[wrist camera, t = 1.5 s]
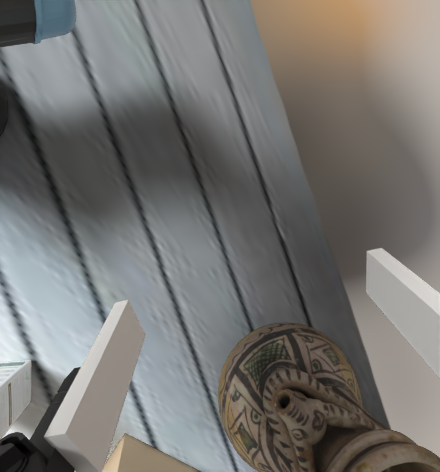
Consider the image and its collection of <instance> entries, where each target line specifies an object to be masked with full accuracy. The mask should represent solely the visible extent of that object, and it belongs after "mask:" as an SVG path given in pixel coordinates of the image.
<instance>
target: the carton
mask: <svg viewBox="0 0 440 472" xmlns="http://www.w3.org/2000/svg"><path fill="white" fill-rule="evenodd" d="M102 472H200V471H199V470H197V469H195V468H193V467H191V466H189V465H187V464H185V463H183V462H181V461H179V460H177V459H175V458H173V457H171V456H169V455H167V454H165V453H163V452H161V451H159V450H157V449H155V448H153V447H151V446H149V445H147V444H145V443H143V442H141V441H139V440H137V439H135V438H133V437H131V436H129V435H128V434H126V433H125V434H124V436H123V437H122V439H121V440H120V442H119V443H118V445H117V447H116V448H115V450H114V451H113V453H112V454H111V456H110V457H109V459H108V460H107V462H106V463H105V465H104V468H103V471H102Z"/></svg>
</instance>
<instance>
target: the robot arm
mask: <svg viewBox="0 0 440 472" xmlns="http://www.w3.org/2000/svg"><path fill="white" fill-rule="evenodd" d="M75 22H76V7H75V1H74V0H0V47H6V46H13V45H20V44H26V43H33V44H37V43H40V42H41V40H43V39H48V38H52V37H57V36H61V35H66V34H68V33H69V32H70V31H71V30H72V28H73V27H74V25H75ZM7 116H8V105H7V99H6V95H5V92H4V90H3V88H2V86H1V84H0V135H1V134H2V132H3V130H4V128H5V125H6V121H7ZM366 264H367V265H366V293H367V294H368V296H369V297H370V298H371V299H372V300H373V301H374V303H375V304H376V305H377V306H378V307H379V308H380V310H381V311H382V312H383V313H384V314H385V315H386V317H387V318H388V319H389V320H390V321H391V322H392V323H393V325H394V326H395V327H396V328H397V329H398V331H399V332H400V333H401V334H402V335H403V336H404V337H405V339H406V340H407V341H408V342H409V343H410V344H411V346H412V347H413V348H414V349H415V350H416V351H417V352H418V354H419V355H420V356H421V357H422V358H423V360H424V361H425V362H426V363H427V364H428V365H429V366H430V368H431V369H432V370H433V371H434V372H435V373H436V375H437V376H438V377H439V378H440V294H439V292H437V291H436V290H435V289H433V288H432V287H431V286H430V285H428V284H427V283H426V282H425V281H423V280H422V279H421V278H419V277H418V276H417V275H416V274H414V273H413V272H412V271H410V270H409V269H408V268H407V267H405V266H404V265H403V264H402V263H400V262H399V261H398V260H396V259H395V258H394V257H393V256H391V255H390V254H389V253H388V252H386V251H385V250H384V249H382V248H379V249H374V250H370V251H367V263H366ZM144 338H145V333H144V331H143V329H142V327H141V325H140V323H139V320H138V318H137V316H136V314H135V312H134V310H133V308H132V306H131V304H130V302H129V300H125V301H120V302H116V303H115V304H114V306H113V308H112V310H111V312H110V314H109V316H108V317H107V319H106V321H105V323H104V325H103V327H102V329H101V331H100V332H99V334H98V336H97V338H96V340H95V342H94V344H93V346H92V347H91V349H90V351H89V353H88V355H87V357H86V359H85V361H84V362H83V364H82V366H81V367H79V368H74V369H73V371H72V372H71V373H70V374H69V375H68V376H67V377H66V378H65V379H64V381H63V383H62V385H61V386H60V388H59V390H58V393H57V394H56V395H55V397H54V399H53V400H52V404H50V406H49V407H48V409H47V411H46V413H45V414H44V416H43V418H42V420H41V421H40V423H39V425H38V427H37V428H36V430H35V432H34V434H33V435H32V437H31V439H30V440H29V439H28V438H27V437H26V436H24V435H23V434H22V433H19V432H15V433H11V434H9V435H7V436H5V437H4V438H2V439H0V472H74V470H75V471H76V472H102V471H103V468H104V464H105V461H106V458H107V455H108V452H109V449H110V445H111V442H112V439H113V436H114V433H115V430H116V427H117V423H118V420H119V417H120V414H121V411H122V408H123V404H124V401H125V398H126V395H127V392H128V389H129V386H130V382H131V379H132V376H133V373H134V370H135V367H136V364H137V360H138V357H139V354H140V351H141V348H142V345H143V341H144Z"/></svg>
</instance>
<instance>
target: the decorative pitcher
mask: <svg viewBox="0 0 440 472" xmlns="http://www.w3.org/2000/svg"><path fill="white" fill-rule="evenodd" d="M218 402H219V411H220V416H221V420H222V423H223V426H224V429H225V431H226V433H227V436H228V438H229V440H230V441H231V443H232V445H233V447H234V448H235V450H236V451H237V453H238V454H239V455H240V457H241V458H242V459H243V460H244V461H245V462H246V463H247V464H249V465H250V466H251V467H253V468H254V469H255V470H257V471H258V472H440V458H439V457H438V456H437V455H435V454H434V453H432V452H431V451H429V450H427V449H426V448H423V447H421V446H418V445H417V444H416V443H415V442H413V441H412V440H411V439H410V438H408V437H407V436H405V435H403V434H402V433H400V432H397V431H393V430H389V429H388V428H387V427H385V426H384V425H383V424H381V423H380V422H379V421H377V420H376V419H375V418H374V417H372V416H371V415H370V414H369V413H368V412H367V411H366V410H365V409H364V408H363V406H362V398H361V393H360V389H359V386H358V382H357V380H356V377H355V374H354V372H353V370H352V368H351V366H350V364H349V362H348V361H347V359H346V357H345V356H344V354H343V353H342V352H341V350H340V349H339V348H338V347H337V346H336V345H335V344H334V343H333V342H332V341H331V340H330V339H329V338H328V337H327V336H325V335H324V334H322V333H321V332H319V331H317V330H315V329H313V328H311V327H309V326H306V325H302V324H297V323H276V324H270V325H267V326H263V327H261V328H258V329H256V330H254V331H253V332H251V333H249V334H248V335H247V336H245V337H244V338H243V339H242V340H241V341H240V342H239V343H238V344H237V345H236V347H235V348H234V349H233V351H232V352H231V353H230V355H229V356H228V358H227V360H226V362H225V364H224V366H223V369H222V372H221V376H220V381H219V388H218Z"/></svg>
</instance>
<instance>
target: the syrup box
mask: <svg viewBox="0 0 440 472" xmlns="http://www.w3.org/2000/svg"><path fill="white" fill-rule="evenodd" d="M30 402H31V360H23V361H9V362H0V439H1V438H2V437H3V436H4V435H5V433H6V432H7V431H8V430H9V428H10V427H11V426H12V425H13V423H14V422H15V421H16V420H17V418H18V417H19V416H20V415H21V413H22V412H23V411H24V410H25V408H26V407H27V406H28V405H29V403H30Z"/></svg>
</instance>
